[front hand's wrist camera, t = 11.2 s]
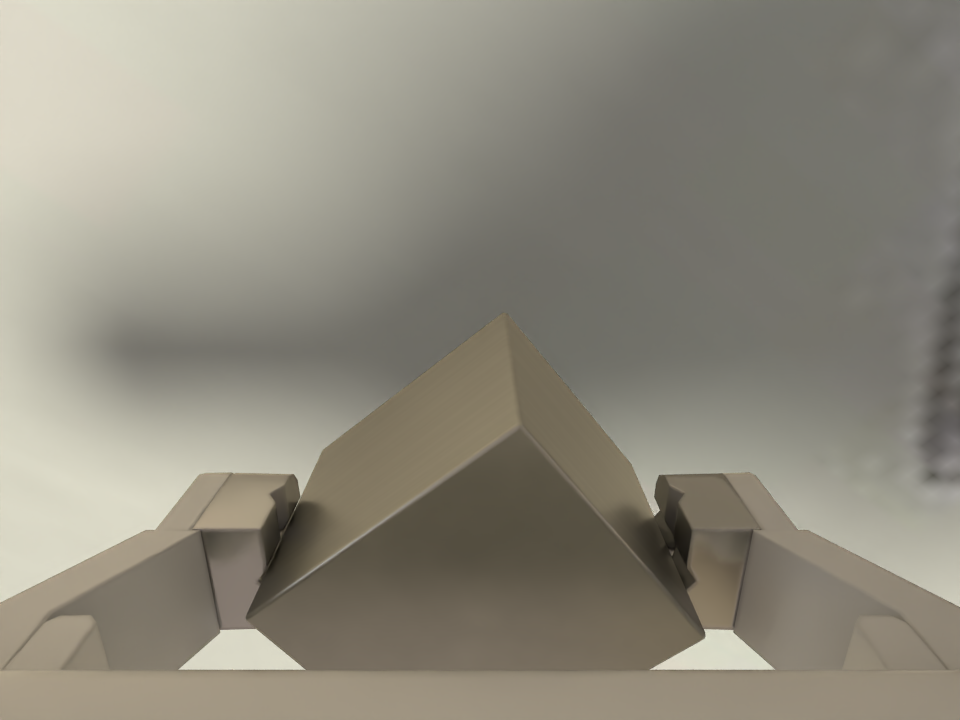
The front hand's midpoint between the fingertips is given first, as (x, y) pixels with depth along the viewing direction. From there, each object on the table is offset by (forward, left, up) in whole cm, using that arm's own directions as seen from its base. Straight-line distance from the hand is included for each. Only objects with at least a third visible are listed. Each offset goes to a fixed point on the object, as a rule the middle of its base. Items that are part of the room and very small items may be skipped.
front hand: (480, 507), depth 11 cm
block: (0, 0, -2) cm, 2 cm away
